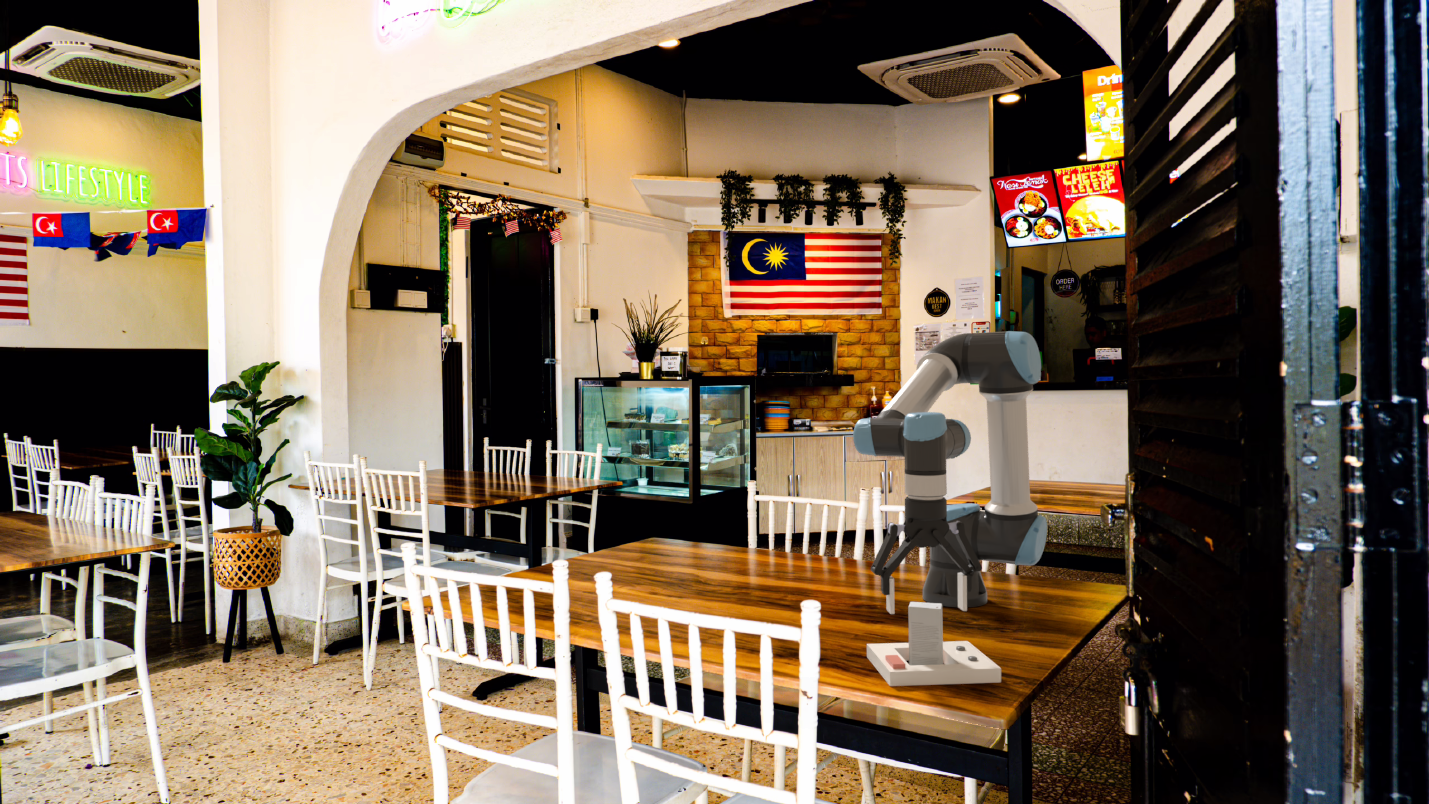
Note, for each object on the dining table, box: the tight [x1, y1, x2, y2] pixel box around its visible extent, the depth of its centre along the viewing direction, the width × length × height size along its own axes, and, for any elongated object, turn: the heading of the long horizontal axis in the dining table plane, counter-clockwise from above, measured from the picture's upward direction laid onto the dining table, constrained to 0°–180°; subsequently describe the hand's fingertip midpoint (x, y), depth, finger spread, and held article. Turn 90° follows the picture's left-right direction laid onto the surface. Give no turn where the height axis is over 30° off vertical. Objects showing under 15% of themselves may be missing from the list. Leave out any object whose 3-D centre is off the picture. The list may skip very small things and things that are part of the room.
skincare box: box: [907, 601, 944, 665], centre depth 158 cm, size 6×4×12 cm
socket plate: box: [866, 640, 1002, 687], centre depth 158 cm, size 20×16×3 cm
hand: (926, 610), depth 158 cm, fingers open, 13 cm apart
